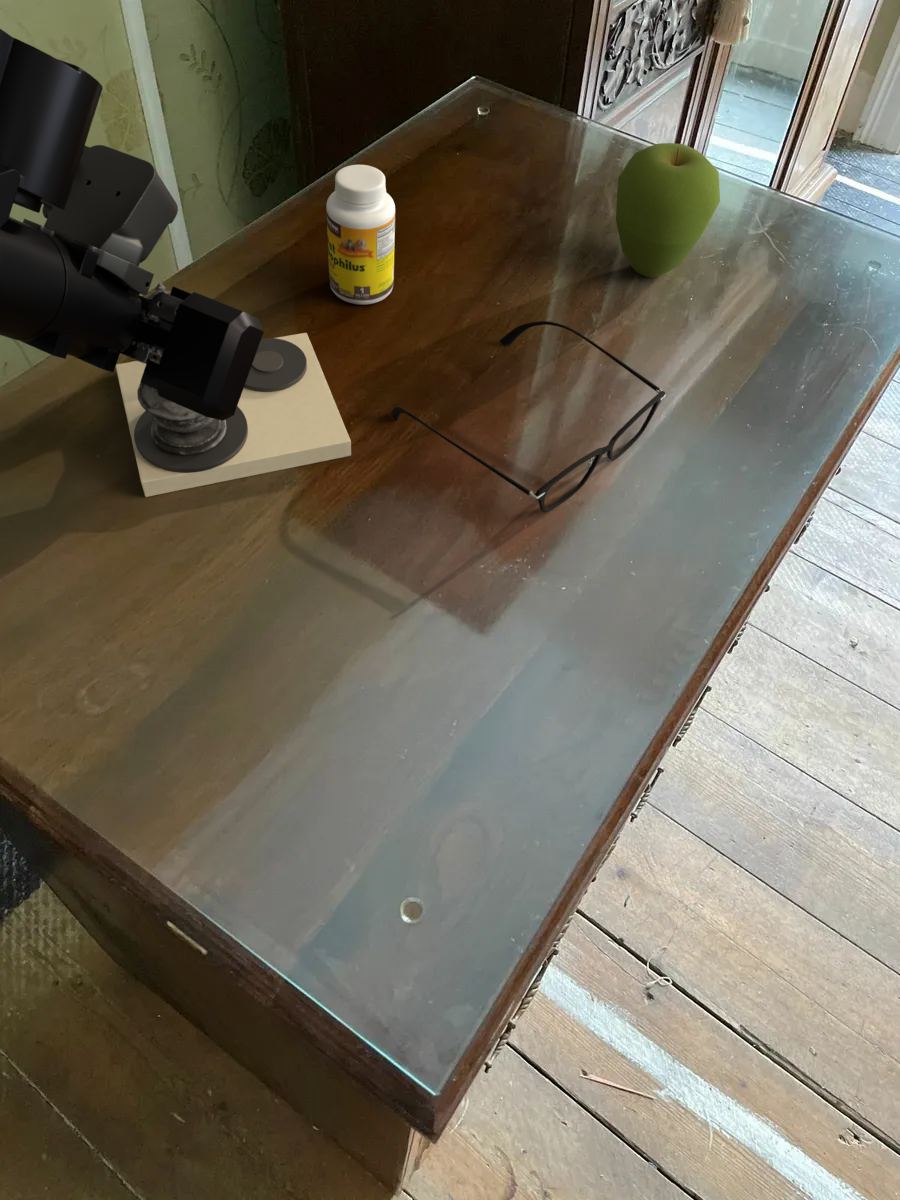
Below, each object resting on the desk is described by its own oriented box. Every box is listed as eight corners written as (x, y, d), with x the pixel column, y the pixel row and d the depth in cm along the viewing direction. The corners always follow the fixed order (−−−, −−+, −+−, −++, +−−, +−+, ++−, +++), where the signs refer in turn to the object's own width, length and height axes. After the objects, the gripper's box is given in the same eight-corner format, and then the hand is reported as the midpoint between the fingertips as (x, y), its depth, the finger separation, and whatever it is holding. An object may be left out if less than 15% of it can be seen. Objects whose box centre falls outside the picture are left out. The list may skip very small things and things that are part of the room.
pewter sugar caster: (134, 450, 67) (94, 303, 57) (163, 396, 70) (130, 249, 61) (216, 463, 66) (189, 318, 57) (241, 408, 70) (220, 263, 61)
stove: (145, 498, 67) (139, 477, 65) (119, 379, 74) (113, 358, 73) (351, 456, 71) (351, 436, 69) (307, 347, 78) (306, 326, 76)
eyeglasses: (532, 538, 67) (539, 499, 64) (373, 426, 73) (373, 385, 70) (666, 426, 75) (678, 386, 71) (513, 332, 81) (518, 292, 77)
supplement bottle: (316, 289, 83) (309, 177, 74) (358, 262, 85) (356, 150, 77) (365, 316, 81) (364, 204, 73) (407, 287, 84) (410, 176, 75)
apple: (586, 277, 86) (610, 153, 77) (622, 234, 91) (650, 111, 81) (675, 311, 84) (711, 186, 75) (708, 264, 88) (746, 142, 79)
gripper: (221, 183, 45) (348, 273, 60) (-72, 76, 50) (114, 184, 65) (146, 404, 47) (287, 437, 62) (-130, 281, 52) (63, 340, 67)
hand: (186, 344), depth 64 cm, fingers closed on pewter sugar caster, 3 cm apart
